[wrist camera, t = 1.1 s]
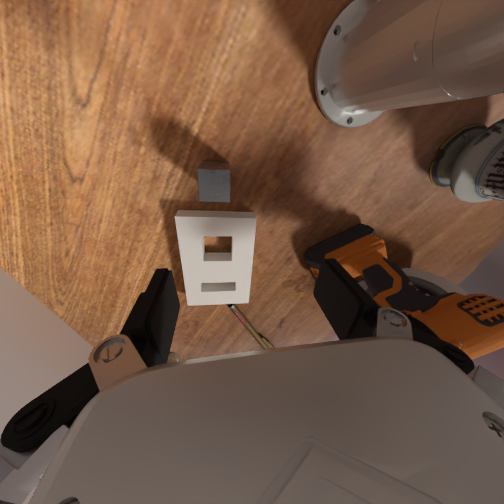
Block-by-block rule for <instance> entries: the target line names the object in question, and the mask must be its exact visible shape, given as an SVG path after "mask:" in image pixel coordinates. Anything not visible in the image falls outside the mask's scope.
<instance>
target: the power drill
mask: <svg viewBox="0 0 504 504" xmlns="http://www.w3.org/2000/svg"><path fill="white" fill-rule="evenodd" d="M304 258H305V260H306V262H307V265H308V267H309V269H310V272H311V274H312V276H313V278H314V280H316V281H317V277H318V273H319V269H320V266H321V262H322V261H324V259H328V258H335V259H336V260H337V261H338V262H339V263H340V264H341V265H342V267H343V268H344V269H345V270H346V271H347V272H348V273H349V274H350V275H351V276H352V277H353V278H355V277H358V276H360V275H362V276H363V278H364V281H365V282H366V284H367V286H368V287H369V289H370V290H371V292H372V293H373V294H374V295H375V297H373V299H374V300H375V301H376V303H377V307H378V308H379V309H380V308H381V307H390V308H393V309H396V310H398V311H400V312H401V313H403V314H404V315H405V316H406V317H407V318H408V319H409V320H410V323H411V327H413V328H416V329H418V330H420V331H423V332H425V333H427V334H430V335H432V336H434V337H437V338H439V339H441V340H444V341H446V342H448V343H451V344H452V345H454V346H456V347H458V348H459V349H461V350H462V351H464V352H465V353H466V354H467V355H468V356H469V357H470V358H471V360H472V359H475V358H477V357H479V356H482V355H485V354H487V353H490V352H492V351H495V350H497V349H500V348H503V347H504V301H502V300H500V299H497V298H494V297H491V296H488V295H485V294H469V295H462V294H460V293H456V292H450V293H447V294H443V295H438V296H428V295H424V294H422V293H420V292H419V291H418V290H417V288H416V287H415V286H414V285H413V284H412V281H411V280H410V278H409V277H408V276H407V275H406V273H405V272H404V271H403V270H402V269H400V268H399V267H398V266H397V265H395V264H394V263H392V262H390V261H389V260H388V259H387V252H386V246H385V243H384V240H383V239H379V237H377V236H375V231H374V229H373V228H371V227H370V226H368V225H364V224H359V225H357V226H355V227H353V228H351V229H349V230H347V231H344V232H342V233H340V234H338V235H336V236H334V237H332V238H329V239H327V240H325V241H323V242H321V243H319V244H317V245H314V246H312V247H310V248H309V249H308V250H307V252H306V253H305V254H304Z"/></svg>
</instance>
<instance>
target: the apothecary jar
mask: <svg viewBox="0 0 504 504" xmlns="http://www.w3.org/2000/svg"><path fill="white" fill-rule="evenodd" d="M429 175H430V179H431V181H432V183H433V184H434V185H436V186H440V187H446V186H450V187H451V190H452V192H453V194H454V195H455V196H456V197H457V198H459V199H460V200H463V201H466V202H484V201H488V200H492V199H495V200H500V201H504V119H502V120H500V121H498V122H496V123H494V124H493V125H491V126H490V127H488V128H487V127H486V126H484V125H481V124H473V125H469V126H467V127H464V128H462V129H460V130H459V131H457V132H456V133H454V134H453V135H452V136H450V137H449V138H448V139H447V140H446V141H445V142H444V144H443V145H442V146H441V147H440V149H439V151H438V155H437V157H436V159H435V160H434V161H433V162H432V163H431V167H430V173H429Z"/></svg>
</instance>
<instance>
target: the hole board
mask: <svg viewBox="0 0 504 504" xmlns="http://www.w3.org/2000/svg"><path fill="white" fill-rule="evenodd" d="M256 220H257V218H256V215H255V213H254V212H236V211H202V210H178V211H177V213H176V215H175V223H176V229H177V236H178V243H179V250H180V256H181V263H182V270H183V277H184V283H185V290H186V297H187V304H188V306H191V305H214V304H237V303H249V293H250V283H251V272H252V262H253V251H254V241H255V231H256ZM204 236H232V251H231V253H205V247H204Z"/></svg>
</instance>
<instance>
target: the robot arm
mask: <svg viewBox="0 0 504 504" xmlns="http://www.w3.org/2000/svg"><path fill="white" fill-rule="evenodd" d="M334 31H335V35H334ZM314 86H315V95H316V99H317V103H318V105H319V107H320V109H321V112H322V113H323V114H324V116H325V117H326V118H327V119H328V120H329V121H330V122H331V123H333V124H335V125H337V126H340V127H346V128H349V127H358V126H362V125H364V124H367V123H369V122H371V121H372V120H374V119H375V118H377V117H378V116H379V115H380V114H382V113H383V112H384V111H385V110H391V109H399V108H406V107H413V106H420V105H428V104H435V103H442V102H450V101H457V100H464V99H471V98H476V97H483V96H490V95H494V94H499V93H504V0H354V1H353V2H352V3H350V4H349V5H348V6H347V7H346V8H345V9H344V10H343V11H342V12H341V13H340V14H339V16H338V17H337V18H336V19H335V20H334V22H333V23H332V25H331V26H330V28H329V30H328V31H327V33H326V35H325V37H324V39H323V42H322V44H321V47H320V50H319V53H318V56H317V61H316V66H315V76H314ZM321 90H322V91H323V94H322V95H321ZM347 120H348V122H347ZM314 297H315V299H316V301H317V302H318V304H319V306H320V307H321V309H322V311H323V312H324V314H325V316H326V317H327V319H328V321H329V323H330V324H331V326H332V328H333V329H334V331H335V333H336V334H337V336H338V338H339V339H340V340H338V341H330V342H321V343H313V344H305V345H297V346H289V347H281V348H273V349H265V350H257V351H249V352H241V353H234V354H226V355H219V356H211V357H204V358H197V359H190V360H183V361H177V362H171V363H167V360H168V356H169V352H170V348H171V343H172V339H173V335H174V330H175V326H176V322H177V318H178V313H179V309H180V303H179V299H178V295H177V291H176V286H175V282H174V278H173V274H172V271H171V270H170V271H169V270H168V269H167V268H162V269H156V271H155V273H154V275H153V277H152V279H151V281H150V283H149V285H148V287H147V289H146V291H145V292H144V293H141V294H140V295H139V297H138V299H137V301H136V303H135V305H134V307H133V309H132V311H131V313H130V315H129V317H128V318H127V320H126V322H125V324H124V326H123V328H122V330H121V332H120V334H118V335H113V336H110V337H108V338H106V339H104V340H102V341H101V342H100V343H98V344H97V345H96V346H95V347H94V348H93V350H92V352H91V353H90V355H89V358H88V359H89V362H88V363H87V364H86V365H84V366H83V367H81V368H80V369H78V370H77V371H75V372H74V373H73V374H71V375H69V376H68V377H66V378H65V379H63V380H62V381H60V382H59V383H57V384H56V385H54V386H53V387H52V388H50V389H49V390H47V391H46V392H44V393H43V394H41V395H40V396H38V397H37V398H35V399H34V400H32V401H31V402H29V403H28V404H27V405H25V406H24V407H23V408H21V409H20V410H19V411H18V412H17V413H16V414H15V415H14V416H13V417H12V419H11V420H10V421H9V422H8V424H7V425H6V426H5V429H4V431H3V433H2V435H1V439H0V504H22V503H23V502H24V500H25V499H26V497H27V496H28V495H29V493H30V492H31V491H32V490H33V489H34V487H35V486H36V485H37V484H38V483H39V484H38V486H37V488H36V490H35V492H34V494H33V496H32V498H31V500H30V502H29V503H28V504H504V380H503V379H502V378H500V377H498V376H496V375H495V374H493V373H491V372H490V371H488V370H487V369H485V368H483V367H482V366H480V365H479V366H478V367H476V366H474V363H473V361H472V360H471V358H470V357H469V356H468V355H467V354H466V353H465V352H464V351H462V350H461V349H459V348H458V347H456V346H454V345H452V344H451V343H448V342H446V341H444V340H441V339H439V338H437V337H434V336H432V335H430V334H427V333H425V332H423V331H420V330H418V329H416V328H413V327H411V323H410V320H409V319H408V318H407V317H406V316H405V315H404V314H403V313H401V312H400V311H398V310H396V309H393V308H390V307H381V308H380V309H379V308H378V307H377V303H376V301H375V300H374V299H373V298H372V297H371V296H370V295H369V294H368V293H367V292H366V291H365V290H364V289H363V288H362V287H361V286H360V285H359V283H358V282H357V281H356V280H355V279H354V278H353V277H352V276H351V275H350V274H349V273H348V272H347V271H346V270H345V269H344V268H343V267H342V265H341V264H340V263H339V262H338V261H337V260H336V259H335V258H328V259H324V261H322V262H321V266H320V269H319V273H318V277H317V281H316V284H315V288H314ZM45 470H46V471H45ZM44 471H45V473H44V474H43V476H42V478H41V479H40V478H39V477H40V475H41V474H42V473H43V472H44ZM39 481H40V482H39ZM78 500H79V501H78Z"/></svg>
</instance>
